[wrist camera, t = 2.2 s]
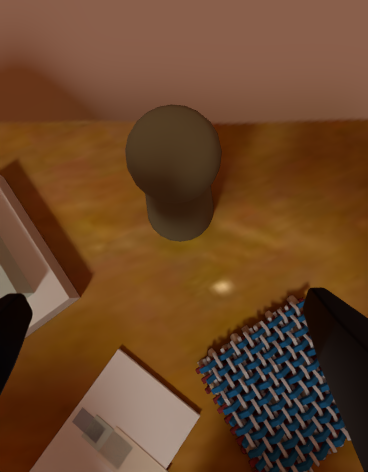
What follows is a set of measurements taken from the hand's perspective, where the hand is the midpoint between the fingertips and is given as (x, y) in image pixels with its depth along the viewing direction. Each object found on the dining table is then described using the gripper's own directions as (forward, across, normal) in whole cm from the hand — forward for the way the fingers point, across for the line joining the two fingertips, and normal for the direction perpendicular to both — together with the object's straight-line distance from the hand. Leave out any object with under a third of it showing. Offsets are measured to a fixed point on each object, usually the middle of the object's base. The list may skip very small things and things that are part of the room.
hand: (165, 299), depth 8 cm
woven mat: (+5, -8, +15) cm, 18 cm away
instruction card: (+2, +5, +17) cm, 18 cm away
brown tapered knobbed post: (+15, 0, +4) cm, 16 cm away
